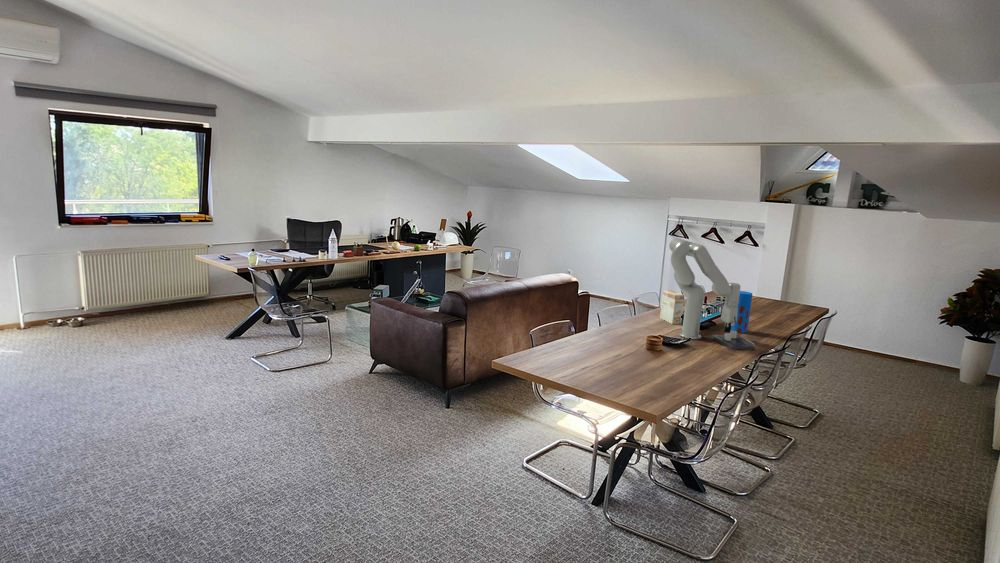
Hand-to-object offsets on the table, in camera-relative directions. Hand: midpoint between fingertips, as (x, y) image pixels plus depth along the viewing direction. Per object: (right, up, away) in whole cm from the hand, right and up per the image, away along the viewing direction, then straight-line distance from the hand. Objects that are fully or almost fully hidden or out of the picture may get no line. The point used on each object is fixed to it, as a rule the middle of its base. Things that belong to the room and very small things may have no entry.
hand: (727, 333), depth 335 cm
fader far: (+1, -2, -6) cm, 6 cm away
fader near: (-5, -3, -12) cm, 13 cm away
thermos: (+15, 0, +20) cm, 25 cm away
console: (-2, -5, -10) cm, 12 cm away
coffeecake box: (-24, +5, +35) cm, 42 cm away
